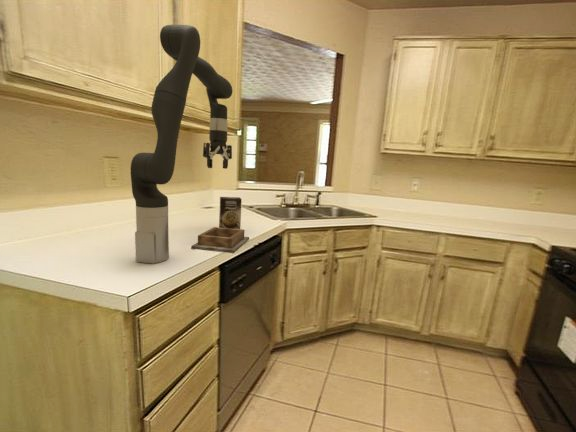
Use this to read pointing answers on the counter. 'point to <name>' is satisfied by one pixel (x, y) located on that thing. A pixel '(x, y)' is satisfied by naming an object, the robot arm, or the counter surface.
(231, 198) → the coffee box
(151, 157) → the robot arm
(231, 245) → the socket
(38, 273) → the counter surface
